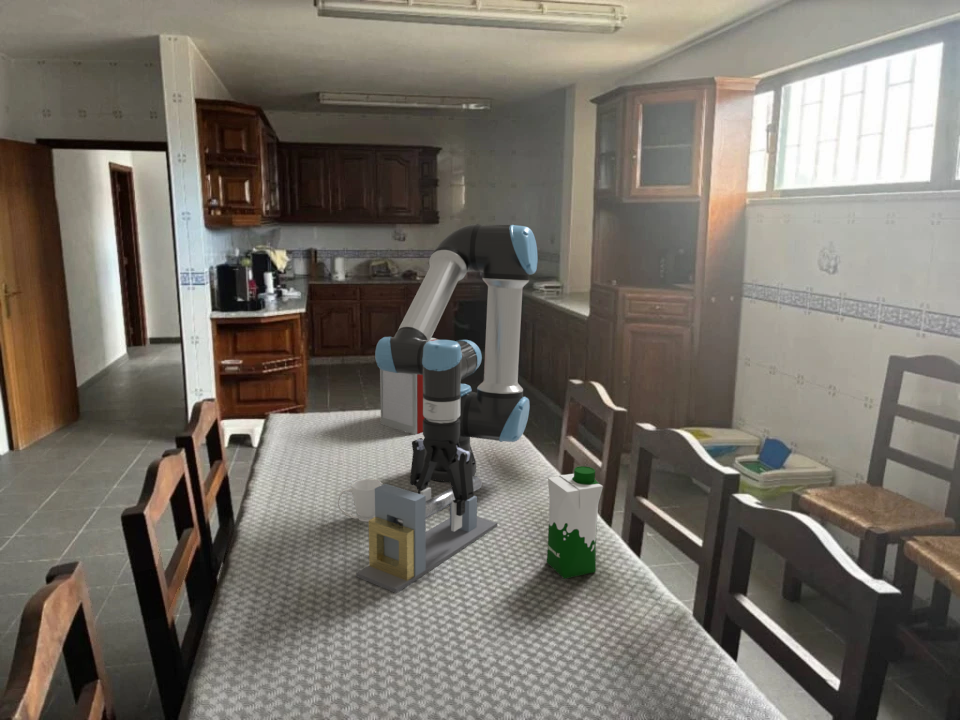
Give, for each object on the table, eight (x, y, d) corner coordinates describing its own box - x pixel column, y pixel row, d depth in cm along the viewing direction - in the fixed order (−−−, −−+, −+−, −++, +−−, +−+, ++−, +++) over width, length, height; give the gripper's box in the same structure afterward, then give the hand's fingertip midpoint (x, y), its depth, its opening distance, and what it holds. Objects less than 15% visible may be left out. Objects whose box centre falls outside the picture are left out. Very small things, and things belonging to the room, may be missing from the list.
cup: (384, 523, 157) (383, 489, 155) (338, 526, 155) (337, 491, 153) (382, 510, 163) (381, 477, 162) (338, 512, 162) (337, 479, 160)
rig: (460, 514, 162) (461, 448, 158) (497, 526, 156) (499, 457, 153) (356, 576, 134) (354, 497, 131) (396, 593, 129) (395, 511, 125)
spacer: (376, 561, 138) (375, 516, 136) (414, 576, 133) (413, 529, 131) (369, 565, 137) (368, 520, 135) (407, 580, 131) (407, 533, 129)
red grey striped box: (379, 423, 227) (377, 341, 222) (418, 412, 241) (418, 334, 235) (415, 435, 217) (415, 348, 211) (454, 422, 230) (454, 341, 224)
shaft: (470, 487, 157) (470, 474, 156) (481, 490, 155) (482, 477, 155) (393, 529, 136) (392, 514, 135) (405, 534, 134) (405, 519, 134)
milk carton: (602, 573, 137) (608, 476, 133) (561, 582, 133) (566, 483, 129) (578, 553, 145) (583, 460, 140) (539, 561, 141) (543, 466, 137)
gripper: (390, 413, 144) (392, 517, 149) (472, 432, 133) (470, 543, 138) (414, 405, 150) (414, 505, 155) (494, 422, 139) (491, 529, 144)
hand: (441, 523), depth 147 cm, fingers open, 7 cm apart
